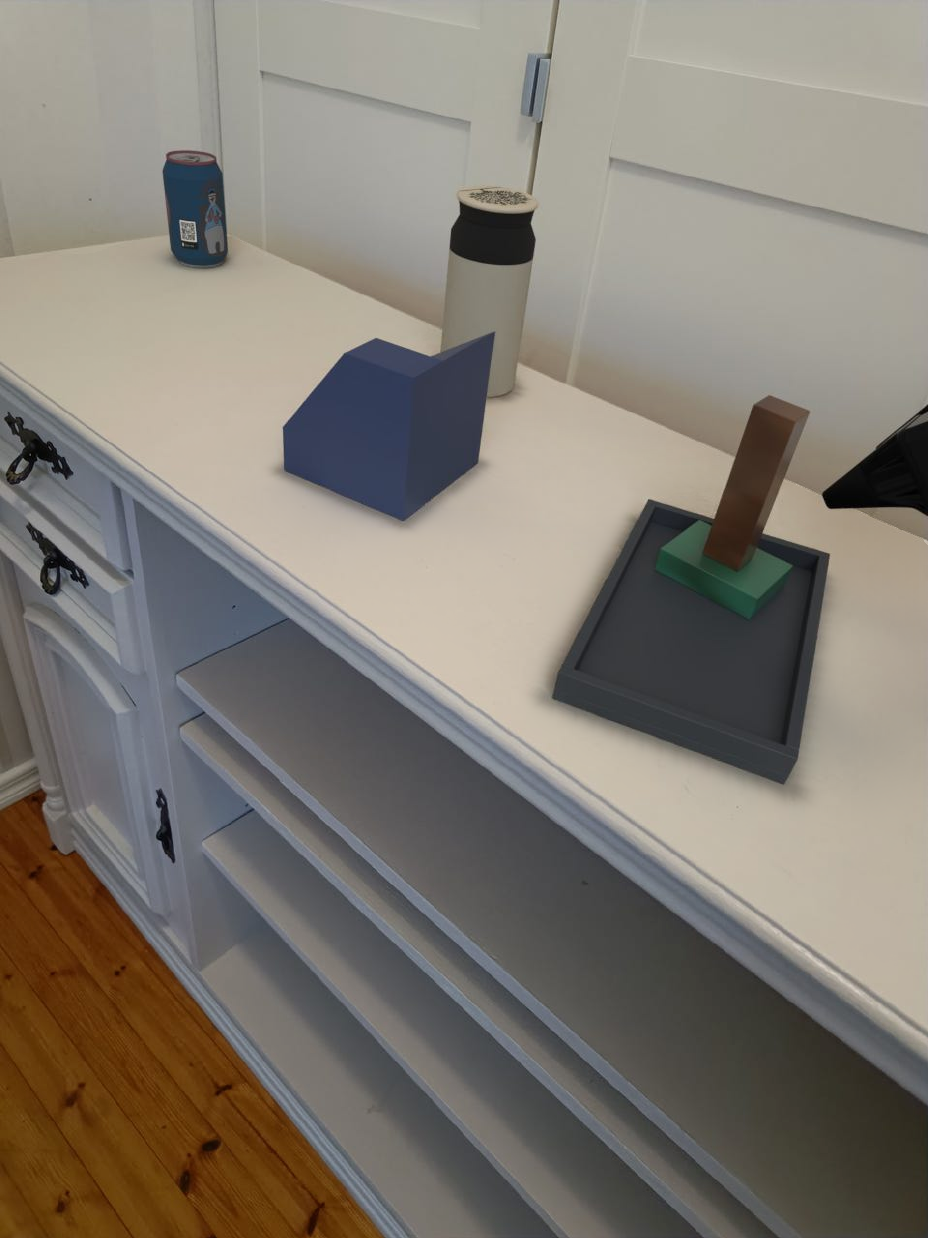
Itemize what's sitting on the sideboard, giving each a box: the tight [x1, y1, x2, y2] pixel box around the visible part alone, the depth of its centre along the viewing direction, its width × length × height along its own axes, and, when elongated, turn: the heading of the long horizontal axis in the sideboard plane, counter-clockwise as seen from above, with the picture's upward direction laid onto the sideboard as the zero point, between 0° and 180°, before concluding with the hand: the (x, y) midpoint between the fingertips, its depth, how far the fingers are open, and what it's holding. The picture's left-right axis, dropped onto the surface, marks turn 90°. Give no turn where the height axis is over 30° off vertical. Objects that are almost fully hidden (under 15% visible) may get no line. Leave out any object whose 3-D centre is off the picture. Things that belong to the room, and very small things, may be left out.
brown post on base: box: [655, 394, 811, 620], centre depth 60 cm, size 8×6×14 cm
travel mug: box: [439, 185, 539, 398], centre depth 83 cm, size 8×8×18 cm
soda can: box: [162, 149, 229, 269], centre depth 104 cm, size 7×7×12 cm
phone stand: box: [282, 331, 495, 522], centre depth 70 cm, size 12×12×12 cm
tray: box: [551, 498, 831, 785], centre depth 60 cm, size 24×15×2 cm, turn 157°
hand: (853, 476), depth 54 cm, fingers open, 9 cm apart
